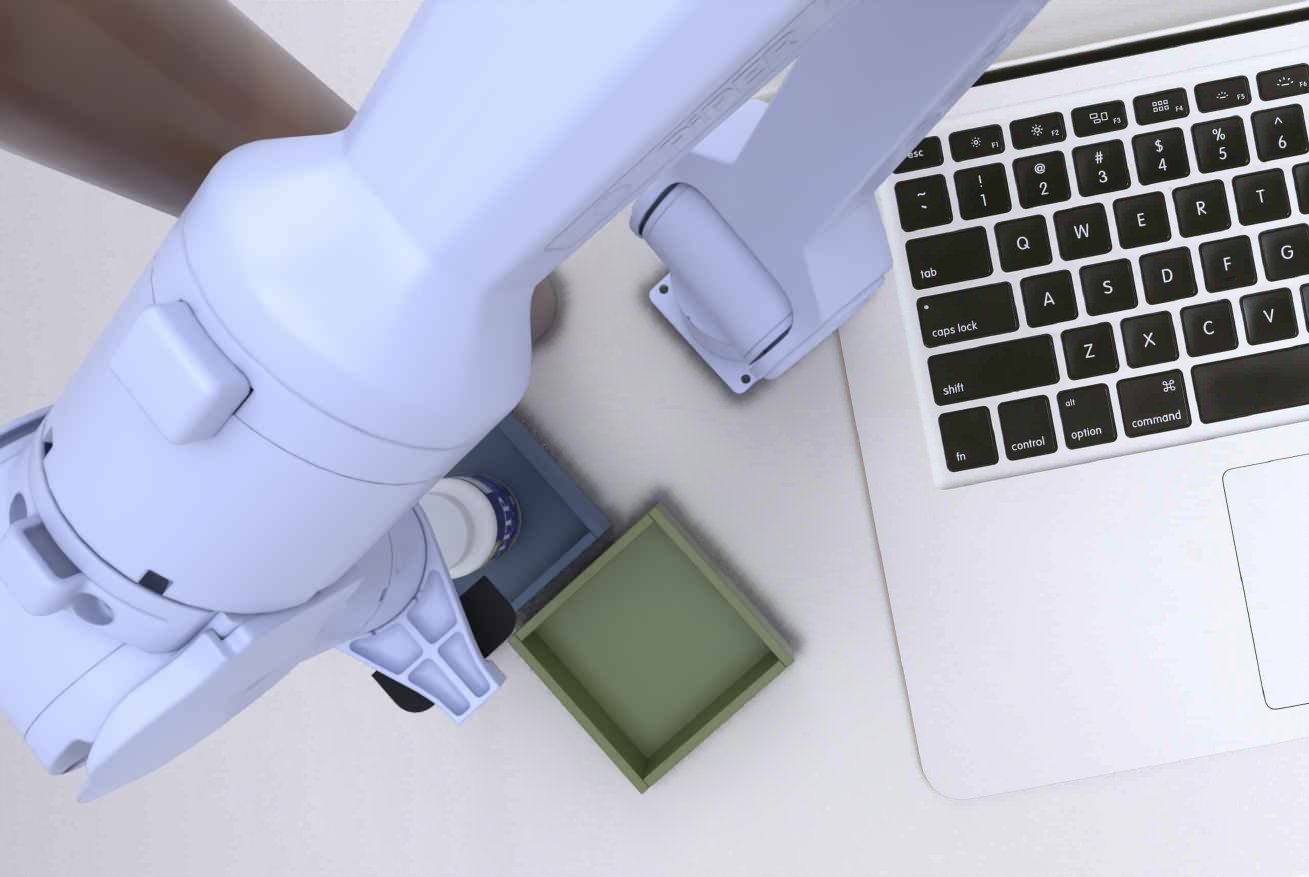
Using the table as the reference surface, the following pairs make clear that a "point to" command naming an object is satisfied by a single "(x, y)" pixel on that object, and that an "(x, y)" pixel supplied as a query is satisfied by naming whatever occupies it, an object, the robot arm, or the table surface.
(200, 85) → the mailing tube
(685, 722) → the tray
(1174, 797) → the table surface
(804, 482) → the table surface
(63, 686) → the robot arm
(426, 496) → the pill bottle
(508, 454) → the tray
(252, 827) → the table surface
